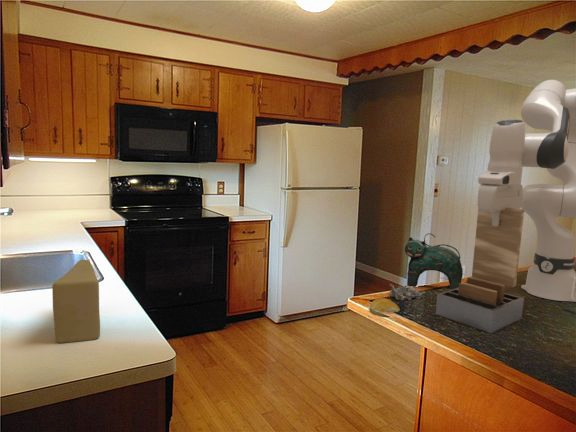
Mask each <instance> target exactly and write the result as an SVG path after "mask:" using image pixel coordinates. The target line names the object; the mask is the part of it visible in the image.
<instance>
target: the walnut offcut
mask: <svg viewBox="0 0 576 432" xmlns="http://www.w3.org/2000/svg"><path fill="white" fill-rule="evenodd" d="M466 283H468V284H472V285H475V286H479V287H483V288H487V289H491V290H494V291H497V299H496V300H498V301H501V302H503V300H504V293H505V290H506V289H505V288H506V285H502V284H498V283H494V282H490V281H486V280H482V279H478V278H474V277H472V276H468V277H466Z"/></svg>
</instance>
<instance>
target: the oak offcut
mask: <svg viewBox="0 0 576 432" xmlns="http://www.w3.org/2000/svg"><path fill="white" fill-rule="evenodd" d="M458 294H459V295H463V296H466V297H470V298H473V299H477V300H480V301H484V302H487V303H490V304H494V305H496V299H497V291H494V290H491V289H487V288H483V287H479V286H475V285H472V284H468V283H467V282H464V281H461V283H459V290H458Z"/></svg>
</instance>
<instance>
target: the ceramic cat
mask: <svg viewBox="0 0 576 432" xmlns="http://www.w3.org/2000/svg"><path fill="white" fill-rule="evenodd" d="M428 235H431V236H432V237H434V238H436V236H435V235H434V234H433V233H429V232H428V233H426V234H425V235H424V237H423V241H421V240H420V239H413V238H412V236H411V237H409V238H408V241H407V243H406V245H405V247H404V253H405V254H406V255H407V256H408V257H409V258H410V260H409V262H408V267H407V269H408V270H407V273H406V275H407V277H406V279H407V281H406V283H407V284H406V286H411V287H412V288H415V287H417V286H418V282H419V278H420V276H421V275H422V274H423V273H424V272H426V271H435V272H439V273H442V274H443V275H445V276H446V278H447V280H448V283H449V285H448V286H449V287H448V288H449V289H450V290H452V289H455V288H458V287H459V283H462V279H463V265H462V261H461V254H460V252H459V250H458V249H457V248H455V247H454V246H452V245H449V244H442V243H441V244H435V245H429V244H428V243H426V236H428ZM443 246H446V247H443ZM448 247H449V248H448ZM453 249H454V250H453ZM455 251H456V252H455Z"/></svg>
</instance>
